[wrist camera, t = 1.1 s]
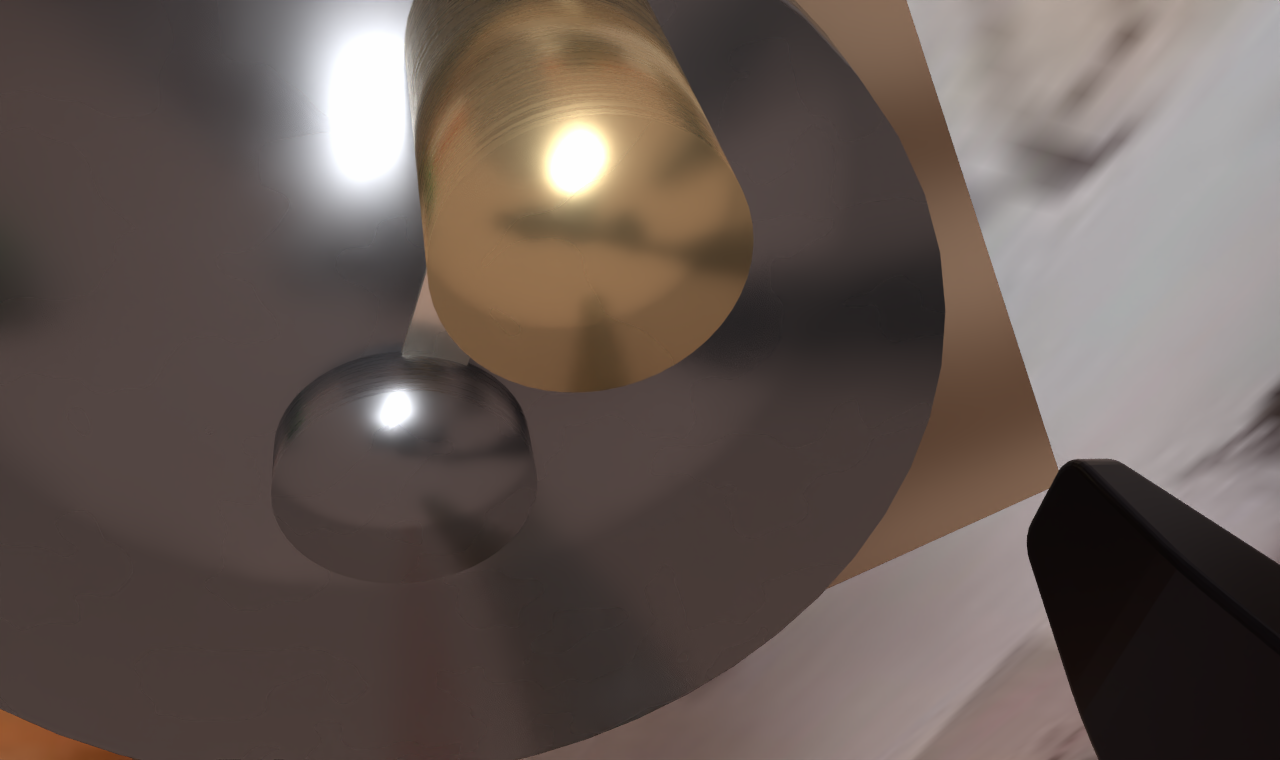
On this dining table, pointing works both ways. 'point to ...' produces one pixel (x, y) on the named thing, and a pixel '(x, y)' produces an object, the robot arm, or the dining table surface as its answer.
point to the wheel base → (974, 318)
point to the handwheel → (435, 363)
